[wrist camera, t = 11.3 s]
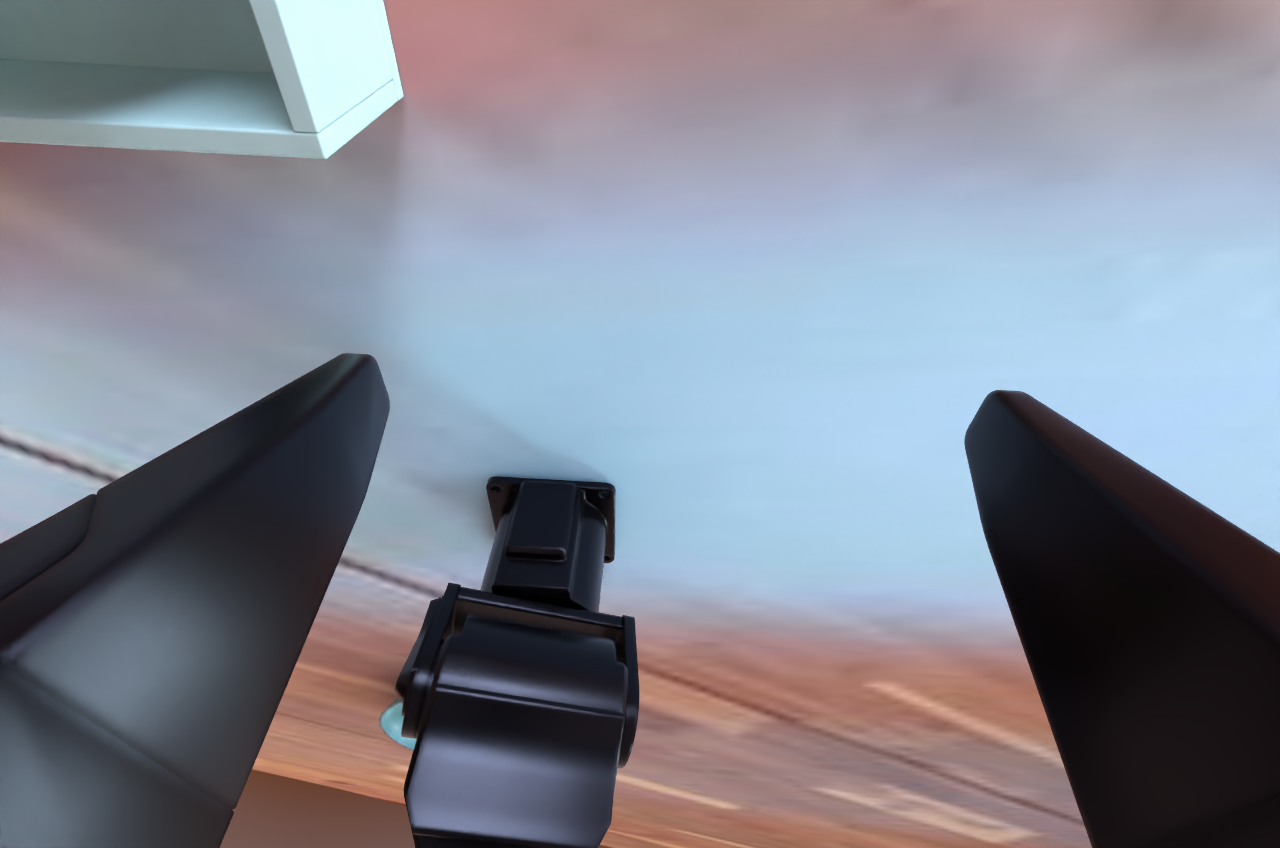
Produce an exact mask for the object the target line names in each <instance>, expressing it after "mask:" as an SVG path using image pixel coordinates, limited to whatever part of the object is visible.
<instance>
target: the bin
mask: <svg viewBox="0 0 1280 848" xmlns="http://www.w3.org/2000/svg"><path fill="white" fill-rule="evenodd" d="M402 97H403V91H402V87H401V82H400V77H399V73H398V68H397V63H396V59H395V54H394V49H393V45H392V40H391V35H390V31H389V26H388V21H387V17H386V12H385V7H384V3H383V0H0V142H14V143H32V144H51V145H70V146H88V147H107V148H125V149H144V150H163V151H181V152H200V153H219V154H237V155H256V156H274V157H293V158H312V159H327V158H328V157H330V156H331V155H332V154H333V153H335V152H336V151H337V150H338V149H339V148H341V147H342V146H343V145H344V144H346V143H347V142H348V141H349V140H350V139H352V138H353V137H354V136H355V135H357V134H358V133H359V132H360V131H362V130H363V129H364V128H365V127H366V126H368V125H369V124H370V123H371V122H373V121H374V120H375V119H376V118H377V117H379V116H380V115H381V114H382V113H384V112H385V111H386V110H387V109H389V108H390V107H391V106H392V105H393V104H395V103H396V102H397V101H398V100H400V99H401V98H402Z"/></svg>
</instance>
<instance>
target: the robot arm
mask: <svg viewBox="0 0 1280 848" xmlns="http://www.w3.org/2000/svg"><path fill="white" fill-rule="evenodd" d="M389 409H390V402H389V396H388V393H387V390H386V387H385V384H384V381H383V378H382V375H381V372H380V369H379V366H378V364H377V361H376V360H375V358H374V357H372V356H371V355H368V354H351V353H345V354H341V355H339V356H337V357H336V358H334V359H332V360H330V361H328V362H327V363H325V364H323V365H321V366H319V367H318V368H316V369H314V370H312V371H311V372H309V373H307V374H305V375H303V376H302V377H300V378H298V379H296V380H294V381H293V382H291V383H289V384H287V385H285V386H284V387H282V388H280V389H278V390H277V391H275V392H273V393H271V394H269V395H268V396H266V397H264V398H262V399H260V400H259V401H257V402H255V403H253V404H252V405H250V406H248V407H246V408H244V409H243V410H241V411H239V412H237V413H235V414H234V415H232V416H230V417H228V418H226V419H225V420H223V421H221V422H219V423H218V424H216V425H214V426H212V427H210V428H209V429H207V430H205V431H203V432H201V433H200V434H198V435H196V436H194V437H193V438H191V439H189V440H187V441H185V442H184V443H182V444H180V445H178V446H176V447H175V448H173V449H171V450H169V451H167V452H166V453H164V454H162V455H160V456H159V457H157V458H155V459H153V460H151V461H150V462H148V463H146V464H144V465H142V466H141V467H139V468H137V469H135V470H134V471H132V472H130V473H128V474H126V475H125V476H123V477H121V478H119V479H117V480H116V481H114V482H112V483H110V484H108V485H107V486H105V487H103V488H101V489H100V490H98V492H97V495H95V494H91V495H88V496H87V497H85V498H83V499H81V500H80V501H78V502H76V503H74V504H73V505H71V506H69V507H67V508H66V509H64V510H62V511H60V512H58V513H57V514H55V515H53V516H51V517H49V518H47V519H45V520H44V521H42V522H40V523H38V524H36V525H34V526H33V527H31V528H29V529H27V530H25V531H23V532H21V533H20V534H18V535H16V536H14V537H12V538H10V539H9V540H7V541H5V542H3V543H1V544H0V848H219V847H220V845H221V843H222V840H223V838H224V835H225V833H226V830H227V828H228V826H229V823H230V821H231V819H232V816H233V813H234V812H233V810H232V809H234V808H235V807H236V806H237V803H238V801H239V798H240V796H241V794H242V791H243V789H244V786H245V784H246V782H247V779H248V777H249V774H250V772H251V770H252V767H253V765H254V763H255V760H256V758H257V755H258V753H259V751H260V748H261V746H262V743H263V741H264V739H265V736H266V734H267V731H268V729H269V727H270V724H271V722H272V720H273V717H274V715H275V712H276V710H277V708H278V705H279V703H280V700H281V698H282V696H283V693H284V691H285V688H286V686H287V684H288V681H289V679H290V677H291V674H292V672H293V669H294V667H295V665H296V662H297V660H298V657H299V655H300V653H301V650H302V648H303V645H304V643H305V641H306V638H307V636H308V633H309V631H310V629H311V626H312V624H313V622H314V619H315V617H316V614H317V612H318V610H319V607H320V605H321V602H322V600H323V598H324V595H325V593H326V590H327V588H328V586H329V583H330V581H331V579H332V576H333V574H334V571H335V569H336V567H337V564H338V562H339V559H340V557H341V555H342V552H343V550H344V547H345V545H346V543H347V540H348V538H349V535H350V533H351V531H352V528H353V526H354V524H355V521H356V519H357V516H358V514H359V511H360V509H361V506H362V504H363V501H364V499H365V495H366V492H367V489H368V486H369V482H370V479H371V475H372V472H373V468H374V465H375V461H376V457H377V454H378V450H379V447H380V443H381V440H382V436H383V432H384V429H385V425H386V422H387V418H388V415H389ZM965 450H966V454H967V459H968V463H969V468H970V473H971V477H972V482H973V486H974V491H975V496H976V500H977V505H978V510H979V514H980V519H981V523H982V527H983V531H984V534H985V538H986V541H987V544H988V547H989V550H990V553H991V556H992V559H993V562H994V565H995V568H996V571H997V574H998V576H999V579H1000V582H1001V585H1002V588H1003V591H1004V594H1005V597H1006V600H1007V602H1008V605H1009V608H1010V611H1011V614H1012V617H1013V620H1014V623H1015V626H1016V628H1017V631H1018V634H1019V637H1020V640H1021V643H1022V646H1023V649H1024V652H1025V654H1026V657H1027V660H1028V663H1029V666H1030V669H1031V672H1032V675H1033V678H1034V680H1035V683H1036V686H1037V689H1038V692H1039V695H1040V698H1041V701H1042V704H1043V706H1044V709H1045V712H1046V715H1047V718H1048V721H1049V724H1050V727H1051V730H1052V732H1053V735H1054V738H1055V741H1056V744H1057V747H1058V750H1059V753H1060V756H1061V759H1062V761H1063V764H1064V767H1065V770H1066V773H1067V776H1068V779H1069V782H1070V785H1071V787H1072V790H1073V793H1074V796H1075V799H1076V802H1077V805H1078V808H1079V811H1080V813H1081V816H1082V819H1083V822H1084V825H1085V828H1086V831H1087V834H1088V837H1089V839H1090V842H1091V845H1092V848H1280V553H1279V552H1277V551H1275V550H1274V549H1272V548H1271V547H1269V546H1267V545H1266V544H1264V543H1263V542H1261V541H1260V540H1258V539H1256V538H1255V537H1253V536H1252V535H1250V534H1248V533H1247V532H1245V531H1244V530H1242V529H1240V528H1239V527H1237V526H1236V525H1234V524H1233V523H1231V522H1229V521H1228V520H1226V519H1225V518H1223V517H1221V516H1220V515H1218V514H1217V513H1215V512H1214V511H1212V510H1210V509H1209V508H1207V507H1206V506H1204V505H1202V504H1201V503H1199V502H1198V501H1196V500H1194V499H1193V498H1191V497H1190V496H1188V495H1187V494H1185V493H1183V492H1182V491H1180V490H1179V489H1177V488H1175V487H1174V486H1172V485H1171V484H1169V483H1168V482H1166V481H1164V480H1163V479H1161V478H1160V477H1158V476H1156V475H1155V474H1153V473H1152V472H1150V471H1149V470H1147V469H1145V468H1144V467H1142V466H1141V465H1139V464H1137V463H1136V462H1134V461H1133V460H1131V459H1130V458H1128V457H1126V456H1125V455H1123V454H1122V453H1120V452H1118V451H1117V450H1115V449H1114V448H1112V447H1111V446H1109V445H1107V444H1106V443H1104V442H1103V441H1101V440H1099V439H1098V438H1096V437H1095V436H1093V435H1091V434H1090V433H1088V432H1087V431H1085V430H1084V429H1082V428H1080V427H1079V426H1077V425H1076V424H1074V423H1072V422H1071V421H1069V420H1068V419H1066V418H1065V417H1063V416H1061V415H1060V414H1058V413H1057V412H1055V411H1053V410H1052V409H1050V408H1049V407H1047V406H1046V405H1044V404H1042V403H1041V402H1039V401H1038V400H1036V399H1034V398H1033V397H1031V396H1030V395H1028V394H1026V393H1024V392H1021V391H1006V390H996V391H992V392H991V393H989V394H988V395H987V397H986V398H985V400H984V401H983V403H982V405H981V406H980V408H979V410H978V412H977V413H976V415H975V417H974V419H973V420H972V422H971V424H970V425H969V427H968V429H967V431H966V435H965ZM486 489H487V494H488V499H489V503H490V508H491V512H492V517H493V522H494V526H495V531H496V535H495V539H494V542H493V546H492V550H491V554H490V557H489V561H488V565H487V568H486V572H485V576H484V579H483V583H482V587H481V590H475V589H469V588H464V587H461V585H459V584H454V583H448V586H447V589H446V591H445V594H444V596H442V598H440V597H439V599H435V600H432V601H431V602H430V605H429V608H428V611H427V614H426V617H425V620H424V623H423V625H422V628H421V631H420V633H419V636H418V638H417V640H416V642H415V644H414V646H413V648H412V650H411V652H410V654H409V656H408V659H407V661H406V663H405V665H404V667H403V669H402V671H401V673H400V675H399V677H398V680H397V683H396V687H395V691H396V693H397V695H398V696H399V698H400V700H401V702H402V704H403V708H402V716H404V719H403V724H402V731H401V736H402V737H407V738H414V739H417V740H416V743H415V747H414V751H413V754H412V758H411V762H410V766H409V769H408V773H407V777H406V780H405V785H404V798H405V802H406V807H407V811H408V816H409V820H410V824H411V829H412V834H413V839H414V843H415V848H598V846H599V845H600V843H601V841H602V839H603V837H604V835H605V834H606V832H607V830H608V828H609V826H610V824H611V818H612V805H613V794H614V788H615V781H616V774H617V768H623V767H624V766H625V764H626V763H627V761H628V758H629V756H630V753H631V750H632V746H633V742H634V737H635V733H636V726H637V720H638V710H639V678H638V664H637V649H636V634H635V619H634V617H631V616H625V615H623V616H622V617H620V616H615V615H609V614H604V613H599V612H598V611H599V602H600V592H601V582H602V573H603V563H610V562H612V561H613V560H614V555H615V487H614V486H613V485H611V484H609V483H601V482H583V481H566V480H549V479H531V478H514V477H491V478H490V479H489V480H488V483H487V486H486ZM605 492H606V493H605Z"/></svg>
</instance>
